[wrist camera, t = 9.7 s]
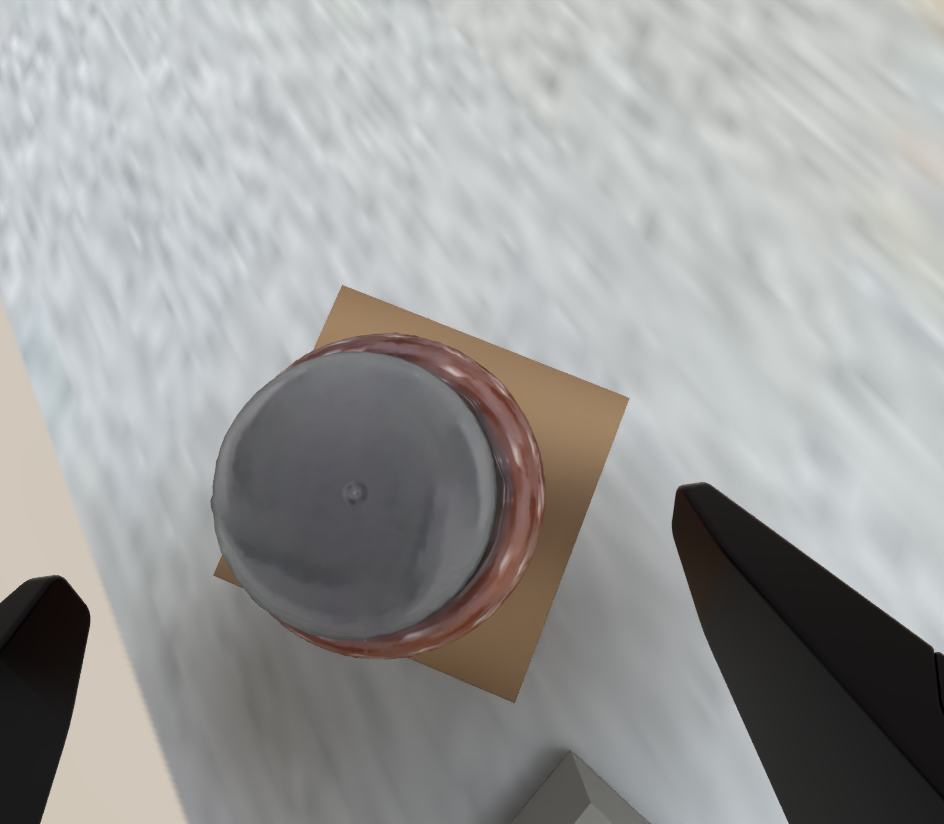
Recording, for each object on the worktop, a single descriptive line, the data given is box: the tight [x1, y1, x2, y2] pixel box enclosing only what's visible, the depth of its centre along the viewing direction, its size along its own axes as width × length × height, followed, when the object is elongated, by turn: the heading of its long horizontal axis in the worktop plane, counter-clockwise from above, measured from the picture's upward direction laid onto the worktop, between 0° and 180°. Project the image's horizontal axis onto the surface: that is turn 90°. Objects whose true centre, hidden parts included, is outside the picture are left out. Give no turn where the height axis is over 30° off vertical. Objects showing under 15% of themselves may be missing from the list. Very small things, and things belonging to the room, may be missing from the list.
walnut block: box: [213, 285, 629, 703], centre depth 21 cm, size 10×10×3 cm
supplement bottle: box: [211, 333, 546, 659], centre depth 14 cm, size 6×6×11 cm
